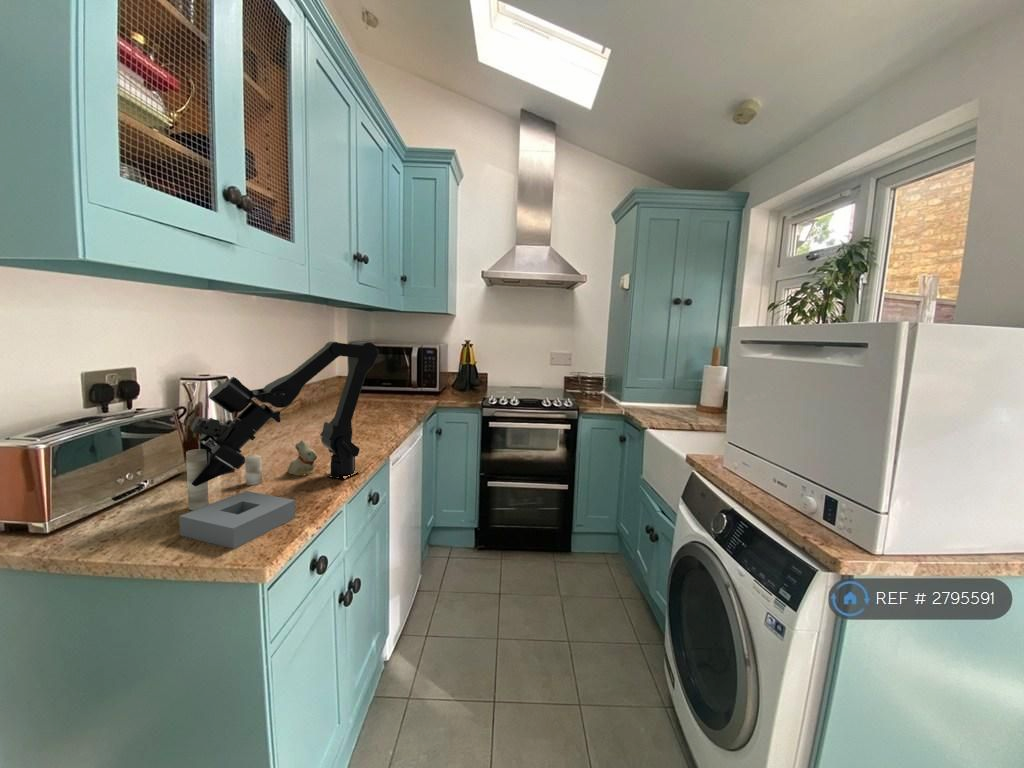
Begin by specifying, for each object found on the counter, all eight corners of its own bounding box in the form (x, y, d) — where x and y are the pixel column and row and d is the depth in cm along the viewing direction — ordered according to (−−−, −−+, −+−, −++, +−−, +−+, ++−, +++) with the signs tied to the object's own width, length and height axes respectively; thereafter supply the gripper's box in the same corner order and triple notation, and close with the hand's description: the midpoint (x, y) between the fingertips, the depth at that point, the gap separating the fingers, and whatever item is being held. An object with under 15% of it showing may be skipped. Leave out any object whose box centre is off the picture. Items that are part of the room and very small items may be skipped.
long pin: (201, 502, 92) (198, 448, 90) (212, 504, 91) (210, 450, 89) (184, 508, 88) (181, 452, 87) (196, 511, 87) (193, 454, 86)
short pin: (254, 479, 107) (254, 454, 106) (265, 481, 106) (264, 456, 105) (242, 484, 104) (241, 458, 103) (253, 486, 103) (252, 460, 102)
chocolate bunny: (300, 478, 110) (299, 443, 109) (284, 472, 114) (283, 438, 113) (318, 473, 114) (318, 439, 113) (303, 467, 118) (302, 435, 117)
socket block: (246, 507, 90) (246, 490, 90) (295, 517, 86) (295, 500, 86) (180, 535, 77) (179, 516, 76) (234, 548, 73) (233, 528, 72)
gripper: (208, 398, 96) (150, 449, 90) (225, 409, 84) (158, 470, 77) (247, 426, 103) (195, 475, 96) (268, 440, 90) (210, 498, 83)
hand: (189, 479), depth 88 cm, fingers open, 9 cm apart
